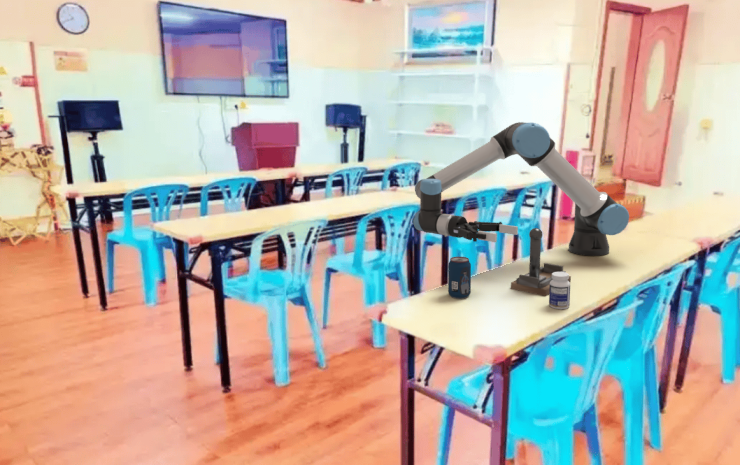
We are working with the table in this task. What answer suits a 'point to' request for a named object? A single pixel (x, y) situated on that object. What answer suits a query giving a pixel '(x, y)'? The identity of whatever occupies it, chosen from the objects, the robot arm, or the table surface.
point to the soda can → (459, 277)
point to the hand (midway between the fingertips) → (506, 234)
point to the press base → (537, 280)
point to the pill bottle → (559, 291)
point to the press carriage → (535, 254)
